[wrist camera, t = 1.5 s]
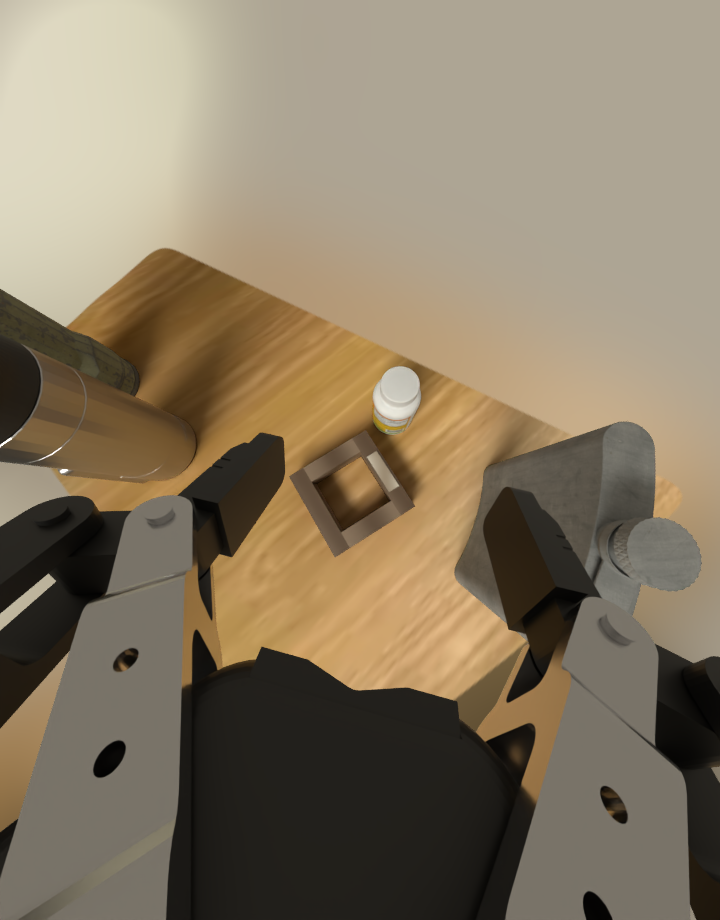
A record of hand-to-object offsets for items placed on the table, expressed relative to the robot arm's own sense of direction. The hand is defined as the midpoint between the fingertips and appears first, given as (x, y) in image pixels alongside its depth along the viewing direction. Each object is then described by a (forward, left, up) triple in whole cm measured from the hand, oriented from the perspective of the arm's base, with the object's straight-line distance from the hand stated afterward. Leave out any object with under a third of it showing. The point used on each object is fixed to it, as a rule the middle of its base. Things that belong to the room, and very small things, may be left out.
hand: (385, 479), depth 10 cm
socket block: (-2, +2, -25) cm, 25 cm away
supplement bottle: (+8, +8, -25) cm, 27 cm away
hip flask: (+10, -10, -25) cm, 29 cm away
